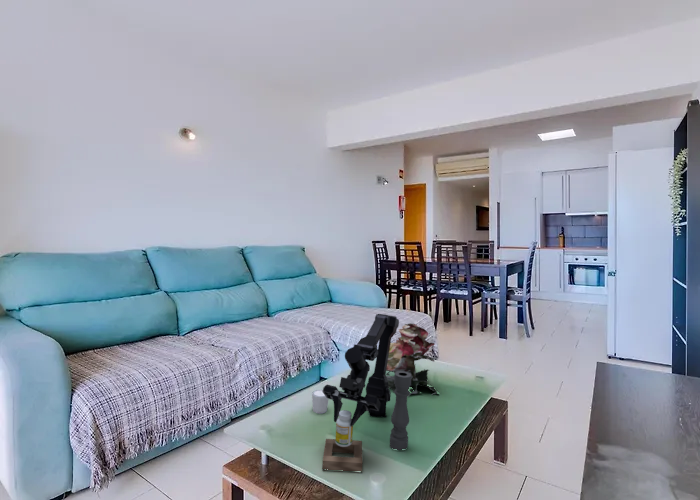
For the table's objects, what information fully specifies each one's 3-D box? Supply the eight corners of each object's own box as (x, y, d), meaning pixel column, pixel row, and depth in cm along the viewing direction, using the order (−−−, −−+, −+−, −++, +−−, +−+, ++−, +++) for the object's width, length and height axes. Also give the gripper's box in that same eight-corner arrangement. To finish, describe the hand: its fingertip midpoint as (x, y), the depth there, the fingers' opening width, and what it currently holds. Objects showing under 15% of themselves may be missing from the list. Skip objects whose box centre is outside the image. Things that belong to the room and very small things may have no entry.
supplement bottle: (342, 449, 118) (343, 419, 117) (331, 441, 122) (333, 412, 121) (355, 443, 121) (357, 414, 120) (344, 435, 125) (346, 407, 124)
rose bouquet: (413, 371, 200) (417, 314, 198) (446, 395, 173) (450, 330, 171) (368, 375, 191) (371, 316, 189) (395, 402, 164) (399, 333, 162)
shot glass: (326, 415, 149) (326, 397, 149) (309, 412, 150) (309, 395, 150) (330, 407, 156) (331, 390, 155) (314, 405, 157) (314, 388, 157)
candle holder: (387, 440, 134) (392, 370, 132) (405, 440, 134) (409, 370, 132) (391, 451, 127) (395, 377, 126) (409, 451, 128) (414, 378, 126)
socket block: (361, 449, 127) (361, 440, 127) (361, 472, 115) (362, 463, 115) (325, 447, 128) (325, 438, 127) (322, 470, 116) (322, 460, 115)
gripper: (326, 360, 127) (308, 407, 118) (379, 371, 120) (365, 422, 110) (335, 375, 135) (319, 420, 125) (385, 386, 128) (373, 434, 118)
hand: (342, 423), depth 120 cm, fingers closed on supplement bottle, 5 cm apart
